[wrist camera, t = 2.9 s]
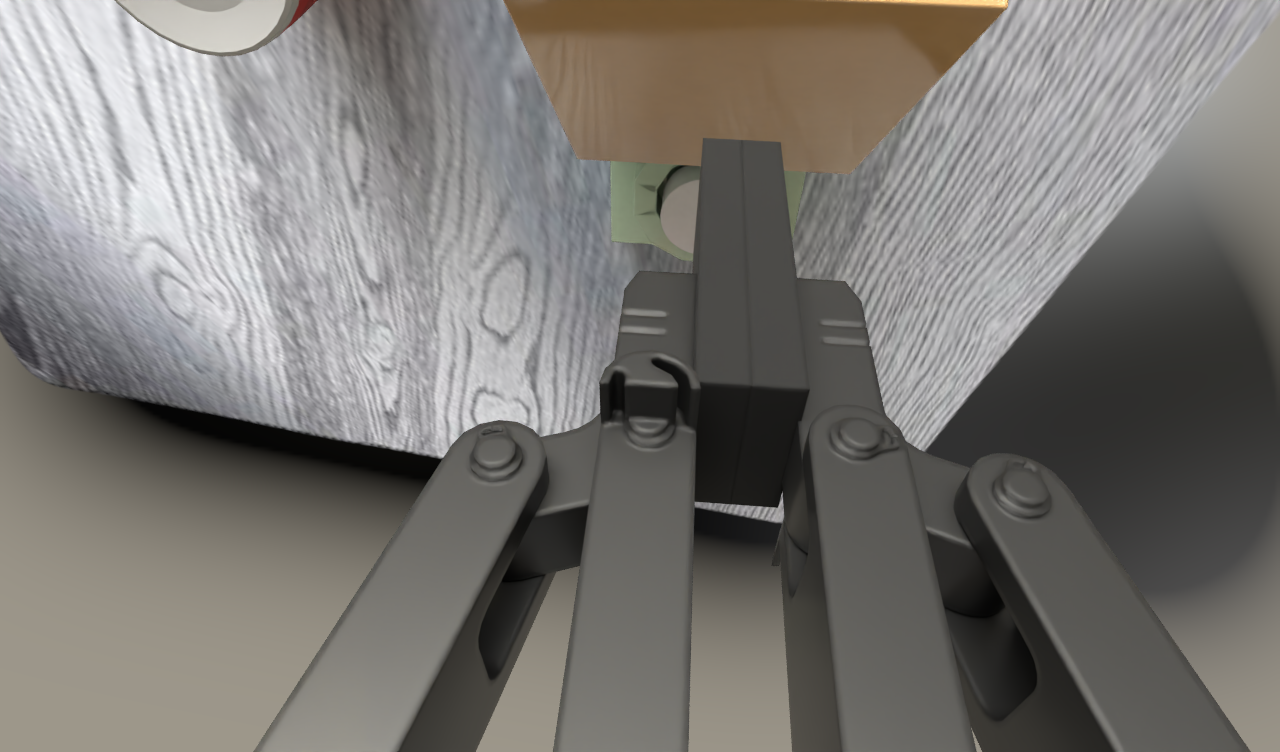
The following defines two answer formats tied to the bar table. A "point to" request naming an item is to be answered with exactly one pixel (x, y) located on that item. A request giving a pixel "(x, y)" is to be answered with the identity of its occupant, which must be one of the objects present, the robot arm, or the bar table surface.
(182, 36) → the canned food
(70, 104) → the bar table surface
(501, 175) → the bar table surface
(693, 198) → the flush button
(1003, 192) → the bar table surface
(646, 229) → the green push button box
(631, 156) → the toilet lid
